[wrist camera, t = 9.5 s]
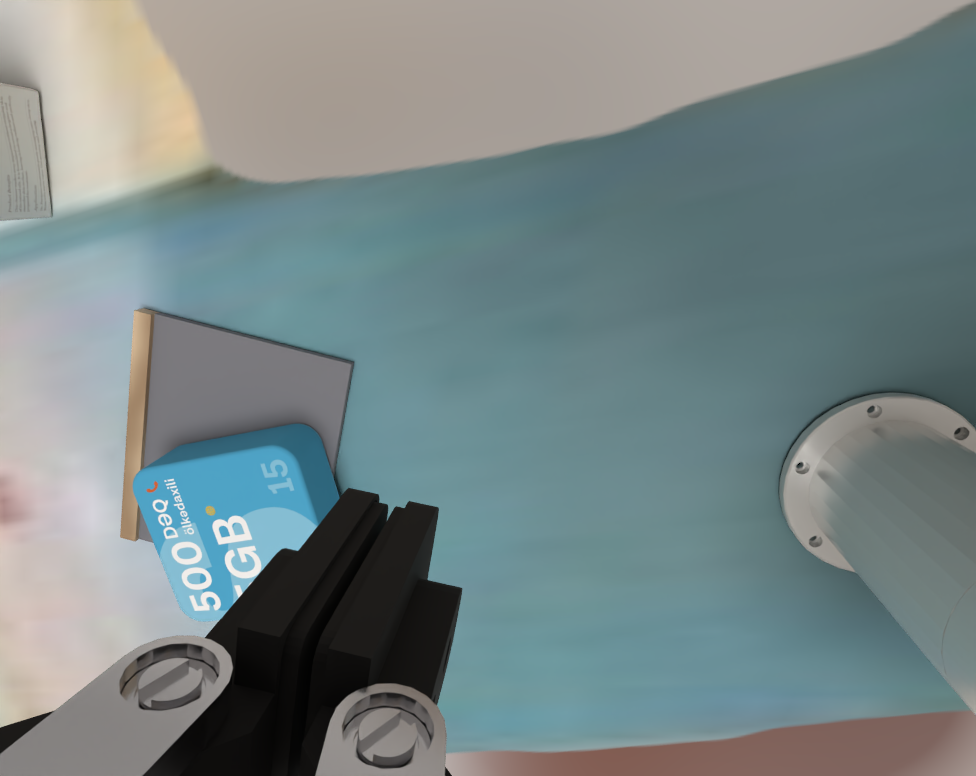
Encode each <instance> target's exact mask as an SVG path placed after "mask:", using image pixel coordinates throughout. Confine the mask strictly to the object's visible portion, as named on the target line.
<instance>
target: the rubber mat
mask: <svg viewBox="0 0 976 776" xmlns="http://www.w3.org/2000/svg"><path fill="white" fill-rule="evenodd" d="M353 366H354V362H351V361H347V360H343V359H339V358H335V357H331V356H328V355H324V354H320V353H316V352H312V351H308V350H304V349H300V348H296V347H293V346H289V345H285V344H281V343H277V342H273V341H269V340H265V339H261V338H257V337H254V336H250V335H246V334H242V333H238V332H234V331H230V330H226V329H222V328H219V327H215V326H211V325H207V324H203V323H199V322H195V321H191V320H187V319H183V318H180V317H176V316H172V315H168V314H164V313H156V314H155V316H154V330H153V344H152V358H151V372H150V386H149V400H148V414H147V428H146V442H145V456H144V468H145V467H146V466H148V465H149V464H151V463H153V462H154V461H156V460H157V459H159V458H160V457H162V456H164V455H165V454H167V453H168V452H170V451H171V450H173V449H175V448H176V447H178V446H180V445H184V444H189V443H195V442H200V441H205V440H210V439H216V438H221V437H226V436H232V435H237V434H242V433H248V432H253V431H258V430H263V429H269V428H274V427H279V426H285V425H290V424H304V425H307V426H309V427H311V428H312V429H314V430H315V431H316V432H317V433H318V435H319V436H320V438H321V440H322V443H323V446H324V449H325V452H326V456H327V459H328V462H329V465H330V468H331V472H332V475H333V478H334V474H335V468H336V463H337V457H338V451H339V445H340V440H341V434H342V428H343V423H344V417H345V411H346V405H347V400H348V394H349V388H350V383H351V377H352V371H353ZM139 539H142V540H145V541H149V542H153V540H152V537H151V535H150V532H149V530H148V528H147V525H146V523H145V520H144V518H143V515H142V513H141V512H140V526H139ZM153 543H154V542H153Z"/></svg>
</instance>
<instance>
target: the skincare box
mask: <svg viewBox="0 0 976 776" xmlns="http://www.w3.org/2000/svg"><path fill="white" fill-rule="evenodd" d="M51 216H52V214H51V204H50V196H49V187H48V178H47V168H46V159H45V150H44V141H43V131H42V123H41V115H40V105H39V93H38V91H37V90H34V89H31V88H26V87H20V86H15V85H10V84H4V83H0V221H4V220H19V219H33V218H47V217H51Z"/></svg>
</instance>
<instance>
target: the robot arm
mask: <svg viewBox="0 0 976 776" xmlns="http://www.w3.org/2000/svg"><path fill="white" fill-rule="evenodd" d="M870 406H871V408H870V410H868V408H869V407H870ZM867 410H868V411H867ZM800 462H801V463H800ZM798 463H800V465H798V466H796V465H797V464H798ZM779 498H780V503H781V508H782V513H783V515H784V517H785V519H786V522H787V524H788V526H789V528H790V529H791V530H792V532H793V533H794V535H795V536H796V538H797V539H798V540H799V541H800V543H801V544H802V545H803V546H804V547H805V548H806V549H807V550H808V551H809V552H811V553H812V554H813V555H815V556H816V557H818V558H819V559H820V560H822V561H824V562H826V563H828V564H830V565H833V566H835V567H837V568H840V569H844V570H848V571H852V572H856V573H857V574H858V575H859V576H860V578H861V579H862V580H863V581H864V582H865V584H866V585H867V586H868V587H869V588H870V590H871V591H872V592H873V593H874V594H875V596H876V597H877V598H878V599H879V601H880V602H881V603H882V604H883V605H884V607H885V608H886V609H887V610H888V611H889V613H890V614H891V615H892V616H893V617H894V619H895V620H896V621H897V622H898V623H899V625H900V626H901V627H902V628H903V629H904V631H905V632H906V633H907V634H908V635H909V637H910V638H911V639H912V640H913V641H914V643H915V644H916V645H917V646H918V647H919V649H920V650H921V651H922V652H923V653H924V655H925V656H926V657H927V658H928V659H929V661H930V662H931V663H932V664H933V665H934V667H935V668H936V669H937V670H938V671H939V673H940V674H941V675H942V676H943V677H944V679H945V680H946V681H947V682H948V683H949V684H950V686H951V687H952V688H953V689H954V690H955V691H956V692H957V694H958V695H959V696H960V697H961V699H962V700H963V701H964V702H965V703H966V704H967V706H968V707H969V708H970V709H971V710H972V711H973V713H974V714H975V715H976V429H975V427H973V426H972V425H971V424H970V423H969V422H968V421H967V420H966V419H965V418H964V417H963V416H962V415H960V414H959V413H957V412H955V411H954V410H952V409H950V408H949V407H947V406H945V405H943V404H941V403H939V402H936V401H934V400H932V399H930V398H926V397H922V396H918V395H914V394H907V393H892V392H890V393H881V394H871V395H867V396H864V397H860V398H856V399H853V400H850V401H848V402H846V403H843V404H841V405H839V406H837V407H835V408H833V409H831V410H830V411H828V412H827V413H825V414H824V415H822V416H821V417H819V418H818V419H816V420H815V421H814V422H813V423H812V424H811V425H810V426H809V427H808V428H807V429H806V430H805V431H804V432H803V433H802V434H801V435H800V437H799V438H798V439H797V441H796V442H795V443H794V445H793V446H792V448H791V450H790V452H789V454H788V456H787V458H786V460H785V462H784V465H783V469H782V473H781V477H780V486H779ZM438 511H439V509H438V507H434V506H429V505H425V504H420V503H415V502H411V501H409V502H408V503H407V505H406V507H405V508H401V507H395V508H394V510H393V512H392V513H391V515H390V517H389V518H388V520H387V514H388V505H387V504H383V503H379V495H378V494H374V493H370V492H365V491H360V490H356V489H351V488H348V489H347V490H346V491H345V492H344V494H343V495H342V496H341V497H340V499H339V500H338V501H337V502H336V504H335V505H334V506H333V507H332V509H331V510H330V511H329V512H328V514H327V515H326V516H325V518H324V519H323V520H322V521H321V523H320V524H319V525H318V526H317V528H316V529H315V530H314V531H313V533H312V534H311V535H310V536H309V538H308V539H307V540H306V542H305V543H304V544H303V545H302V547H301V548H300V549H299V550H298V551H296V550H292V549H288V548H284V549H281V550H280V551H279V552H278V553H276V555H275V556H274V557H273V558H272V559H271V560H270V562H269V563H268V564H267V565H266V566H265V568H264V569H263V570H262V571H261V572H260V573H259V575H258V576H257V577H256V578H255V579H254V580H253V582H252V583H251V584H250V585H249V586H248V588H247V589H246V590H245V591H244V592H243V593H242V595H241V596H240V597H239V598H238V599H237V600H236V602H235V603H234V604H233V605H232V606H231V608H230V609H229V610H228V611H227V612H226V613H225V615H224V616H223V617H222V618H221V619H220V620H219V622H218V623H217V624H216V625H215V626H214V628H213V629H212V630H211V631H210V632H209V633H208V635H207V636H206V637H205V638H202V637H198V636H172V637H167V638H162V639H157V640H155V641H152V642H149V643H147V644H144V645H142V646H139V647H138V648H136V649H135V650H133V651H131V652H130V653H128V654H127V655H125V656H124V657H122V658H121V659H120V660H118V661H117V662H116V663H115V664H113V665H112V666H111V667H110V668H108V669H107V670H106V671H105V672H103V673H102V674H101V675H99V676H98V677H97V678H96V679H94V680H93V681H92V682H91V683H89V684H88V685H87V686H86V687H84V688H83V689H82V690H80V691H79V692H78V693H77V694H75V695H74V696H73V697H72V698H70V699H69V700H68V701H67V702H65V703H64V704H63V705H61V706H60V707H59V708H58V709H56V710H55V711H52V712H49V713H45V714H42V715H39V716H36V717H33V718H29V719H26V720H23V721H20V722H17V723H13V724H10V725H7V726H4V727H1V728H0V776H452V775H451V774H450V773H449V771H448V770H447V769H446V767H445V759H446V737H447V734H446V727H445V720H444V718H443V716H442V714H441V712H440V710H439V708H438V706H437V703H438V699H439V695H440V692H441V688H442V684H443V680H444V676H445V672H446V668H447V664H448V660H449V655H450V651H451V646H452V642H453V637H454V632H455V627H456V622H457V616H458V611H459V606H460V600H461V595H462V588H460V587H455V586H451V585H446V584H442V583H438V582H433V581H429V580H427V578H428V572H429V567H430V561H431V555H432V549H433V543H434V537H435V531H436V525H437V519H438ZM386 521H387V522H386Z"/></svg>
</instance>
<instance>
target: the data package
mask: <svg viewBox="0 0 976 776" xmlns="http://www.w3.org/2000/svg"><path fill="white" fill-rule="evenodd" d="M133 493H134V495H135V498H136V500H137V503H138V505H139V508H140V510H141V513H142V515H143V518H144V520H145V523H146V525H147V528H148V530H149V532H150V535H151V537H152V540H153V542H154V545H155V547H156V550H157V552H158V555H159V557H160V560H161V562H162V565H163V567H164V570H165V572H166V574H167V577H168V579H169V582H170V584H171V587H172V589H173V592H174V594H175V597H176V599H177V602H178V604H179V606H180V608H181V610H182V611H183V612H184V613H185V614H186V615H187V616H189V617H190V618H192V619H194V620H197V621H203V622H206V621H214V620H220V619H221V618H222V617H223V616H224V615H225V613H226V612H227V611H228V610H229V609H230V608H231V606H232V605H233V604H234V603H235V602H236V600H237V599H238V598H239V597H240V596H241V595H242V593H243V592H244V591H245V590H246V589H247V588H248V586H249V585H250V584H251V583H252V582H253V580H254V579H255V578H256V577H257V576H258V575H259V573H260V572H261V571H262V570H263V569H264V568H265V566H266V565H267V564H268V563H269V562H270V560H271V559H272V558H273V557H274V556H275V555H276V553H278V552H279V551H280V550H281V549H284V548H288V549H292V550H296V551H298V550H299V549H300V548H301V547H302V545H303V544H304V543H305V542H306V540H307V539H308V538H309V536H310V535H311V534H312V533H313V531H314V530H315V529H316V528H317V526H318V525H319V524H320V523H321V521H322V520H323V519H324V518H325V516H326V515H327V514H328V512H329V511H330V510H331V509H332V507H333V506H334V505H335V504H336V502H337V501H338V500H339V499H340V497H339V494H338V491H337V488H336V484H335V481H334V478H333V475H332V472H331V468H330V465H329V462H328V459H327V456H326V452H325V449H324V446H323V443H322V440H321V438H320V436H319V435H318V433H317V432H316V431H315V430H314V429H312V428H311V427H309V426H307V425H304V424H290V425H285V426H279V427H274V428H269V429H263V430H258V431H253V432H248V433H242V434H237V435H232V436H226V437H221V438H216V439H210V440H205V441H200V442H195V443H189V444H184V445H180V446H178V447H176V448H175V449H173V450H171V451H170V452H168V453H167V454H165V455H164V456H162V457H160V458H159V459H157V460H156V461H154V462H153V463H151V464H149V465H148V466H146V467H145V468H143V469H142V470H140V471H139V472H138V473H137V474H136V476H135V477H134V480H133Z"/></svg>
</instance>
